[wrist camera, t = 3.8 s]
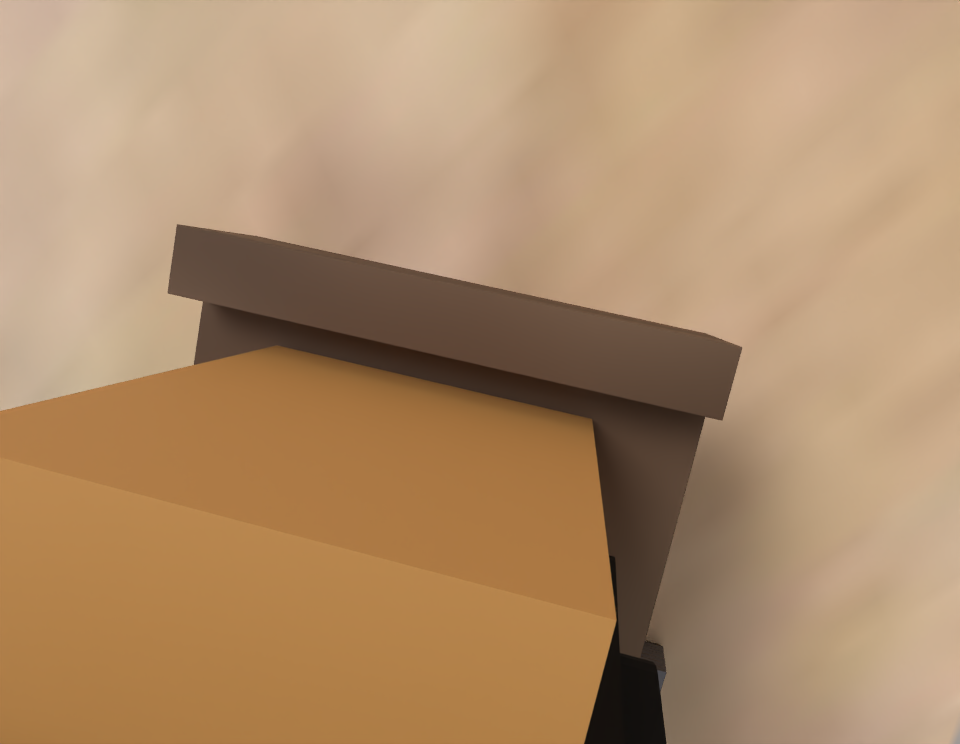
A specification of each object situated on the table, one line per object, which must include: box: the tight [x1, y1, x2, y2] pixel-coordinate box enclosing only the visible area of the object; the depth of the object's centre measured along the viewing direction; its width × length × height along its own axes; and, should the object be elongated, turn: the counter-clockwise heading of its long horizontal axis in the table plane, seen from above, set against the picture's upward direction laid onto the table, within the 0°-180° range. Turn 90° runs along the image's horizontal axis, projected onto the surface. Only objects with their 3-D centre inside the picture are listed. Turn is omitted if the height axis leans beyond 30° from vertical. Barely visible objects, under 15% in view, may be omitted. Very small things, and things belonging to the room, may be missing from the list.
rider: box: [0, 345, 617, 744], centre depth 8 cm, size 6×5×6 cm
